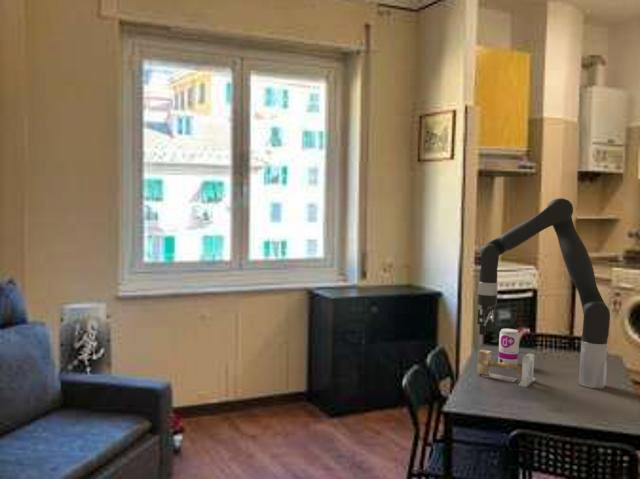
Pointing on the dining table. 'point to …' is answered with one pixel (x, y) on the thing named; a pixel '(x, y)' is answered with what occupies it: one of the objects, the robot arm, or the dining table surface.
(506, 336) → the supplement can
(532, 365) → the white stand
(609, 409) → the dining table surface
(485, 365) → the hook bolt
